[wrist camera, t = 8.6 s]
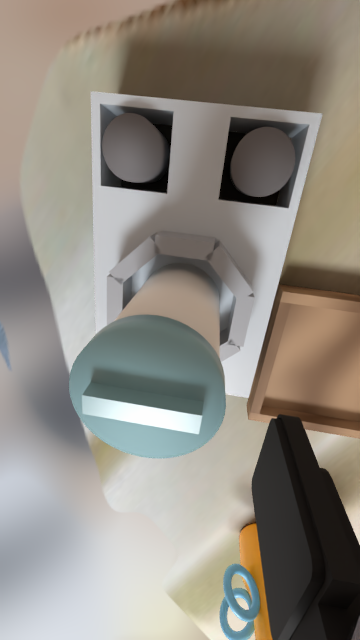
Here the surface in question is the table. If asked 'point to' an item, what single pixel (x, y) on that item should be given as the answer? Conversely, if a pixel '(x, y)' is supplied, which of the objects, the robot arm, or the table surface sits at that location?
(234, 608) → the cylinder
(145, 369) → the cylinder
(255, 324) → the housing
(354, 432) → the tray
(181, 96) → the table surface
